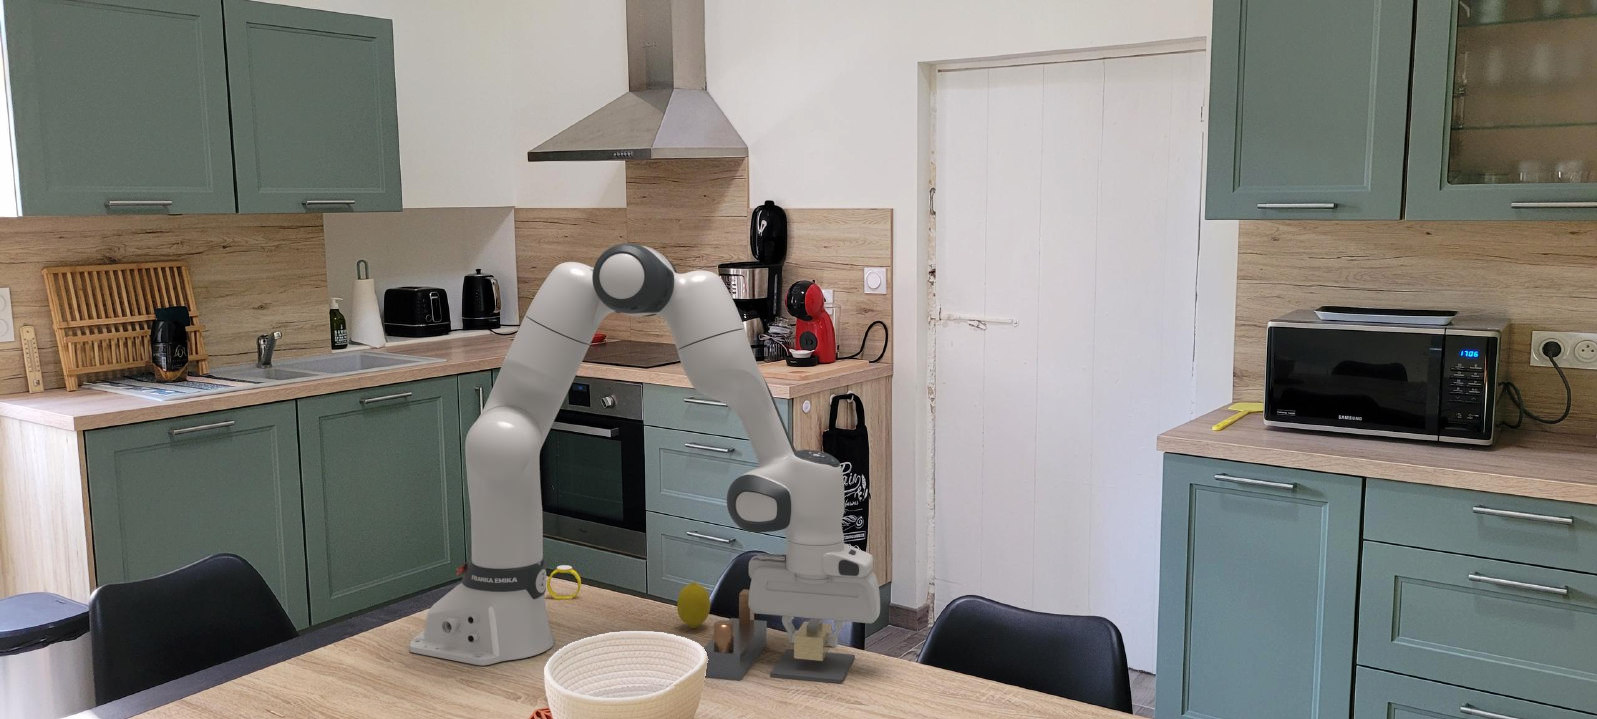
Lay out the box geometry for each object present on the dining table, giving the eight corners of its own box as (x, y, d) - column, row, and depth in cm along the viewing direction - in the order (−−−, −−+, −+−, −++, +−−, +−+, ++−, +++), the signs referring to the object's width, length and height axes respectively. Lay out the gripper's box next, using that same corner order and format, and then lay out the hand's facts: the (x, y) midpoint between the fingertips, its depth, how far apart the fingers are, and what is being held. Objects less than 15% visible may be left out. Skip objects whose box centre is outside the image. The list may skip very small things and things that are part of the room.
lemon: (704, 634, 193) (705, 587, 192) (672, 632, 194) (673, 585, 194) (713, 624, 199) (714, 578, 198) (682, 621, 200) (682, 576, 199)
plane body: (701, 676, 174) (701, 618, 173) (730, 641, 190) (731, 588, 189) (740, 680, 173) (740, 621, 172) (766, 644, 189) (767, 590, 188)
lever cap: (794, 657, 176) (794, 629, 175) (804, 642, 182) (804, 614, 182) (822, 660, 175) (823, 631, 174) (831, 645, 182) (831, 617, 181)
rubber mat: (770, 676, 175) (770, 672, 175) (786, 652, 185) (786, 648, 185) (841, 683, 172) (842, 679, 172) (854, 658, 183) (854, 654, 183)
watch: (580, 597, 214) (583, 566, 213) (578, 602, 211) (580, 570, 210) (548, 595, 214) (550, 563, 213) (545, 599, 211) (547, 567, 210)
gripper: (743, 557, 176) (742, 645, 178) (876, 567, 172) (874, 657, 173) (754, 546, 182) (753, 632, 184) (883, 556, 178) (881, 643, 179)
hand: (813, 644), depth 178 cm, fingers closed on lever cap, 4 cm apart
